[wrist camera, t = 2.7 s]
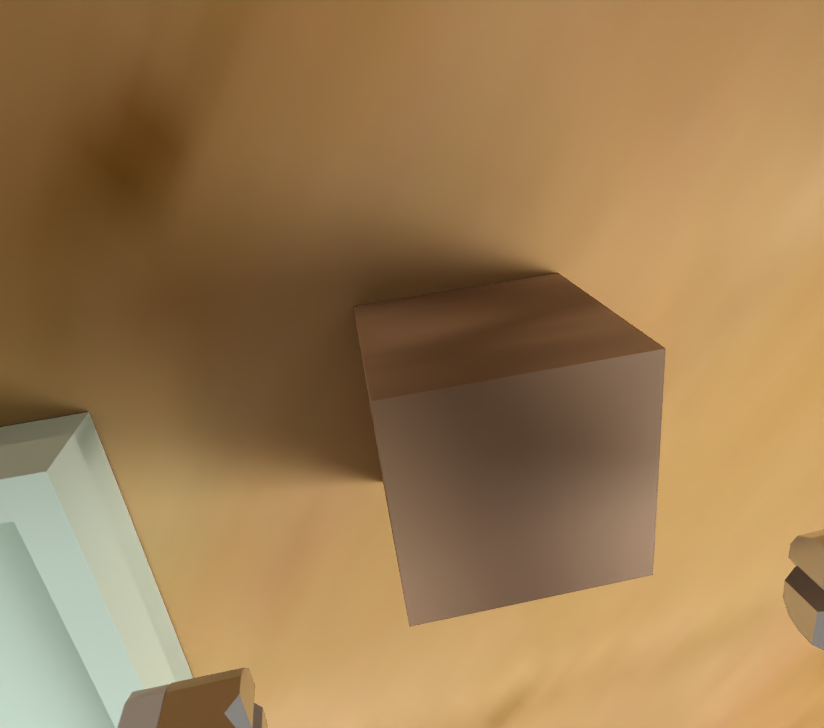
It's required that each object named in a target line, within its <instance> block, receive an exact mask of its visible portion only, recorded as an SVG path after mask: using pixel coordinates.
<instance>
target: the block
mask: <svg viewBox="0 0 824 728" xmlns="http://www.w3.org/2000/svg"><path fill="white" fill-rule="evenodd" d="M353 310H354V316H355V322H356V328H357V334H358V339H359V345H360V351H361V357H362V363H363V368H364V374H365V380H366V386H367V392H368V397H369V403H370V409H371V415H372V421H373V426H374V432H375V438H376V444H377V450H378V455H379V461H380V467H381V473H382V479H383V484H384V490H385V495H386V501H387V506H388V512H389V517H390V523H391V528H392V533H393V539H394V544H395V550H396V555H397V561H398V566H399V572H400V577H401V583H402V588H403V593H404V599H405V604H406V610H407V615H408V621H409V626H415V625H420V624H424V623H429V622H434V621H438V620H443V619H448V618H453V617H457V616H462V615H467V614H471V613H476V612H481V611H485V610H490V609H495V608H500V607H504V606H509V605H514V604H518V603H523V602H528V601H533V600H537V599H542V598H547V597H551V596H556V595H561V594H565V593H570V592H575V591H580V590H584V589H589V588H594V587H598V586H603V585H608V584H612V583H617V582H622V581H627V580H631V579H636V578H641V577H645V576H650V575H653V564H654V546H655V528H656V510H657V492H658V474H659V456H660V438H661V420H662V402H663V384H664V365H665V348H664V347H663V346H661V345H660V344H658V343H657V342H655V341H654V340H653V339H651V338H650V337H648V336H647V335H645V334H644V333H643V332H641V331H640V330H638V329H637V328H636V327H634V326H633V325H631V324H630V323H628V322H627V321H626V320H624V319H623V318H621V317H620V316H619V315H617V314H616V313H614V312H613V311H611V310H610V309H609V308H607V307H606V306H604V305H603V304H601V303H600V302H599V301H597V300H596V299H594V298H593V297H592V296H590V295H589V294H587V293H586V292H584V291H583V290H582V289H580V288H579V287H577V286H576V285H575V284H573V283H572V282H570V281H569V280H567V279H566V278H565V277H563V276H562V275H560V274H559V273H554V274H548V275H542V276H536V277H530V278H524V279H518V280H512V281H506V282H500V283H494V284H488V285H482V286H476V287H470V288H463V289H457V290H451V291H445V292H439V293H433V294H427V295H421V296H415V297H409V298H403V299H397V300H391V301H385V302H379V303H373V304H366V305H360V306H354V307H353Z"/></svg>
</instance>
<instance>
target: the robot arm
mask: <svg viewBox="0 0 824 728" xmlns="http://www.w3.org/2000/svg"><path fill="white" fill-rule="evenodd" d="M789 559H790V560H791V561H792V562H793V563H794V565H795V566H796V567H795V568H794V569H793V570H792V572H791V573H790V574H789V576H788V577H787V578H786V579H785V583H784V593H783V599H784V602H785V605H786V608H787V611H788V614H789V617H790V618H791V620H792V621H793V623H794V624H795V626H796V628H797V629H798V630H799V632H800V633H801V634H802V635H803V636H804V637H805V638H806V639H807V640H808V641H809V642H810V643H811V644H812V645H814V646H816V647H818V648H820V649H822V650H824V529H823V530H819V531H815V532H811V533H807V534H803V535H799V536H797V537H796V538H795V539H794V541H793V542H792V543H791V545H790V551H789ZM254 695H255V683H254V681H253V678H252V675H251V673H250V670H249V668H240V669H235V670H230V671H226V672H221V673H216V674H211V675H206V676H202V677H197V678H192V679H187V680H183V681H178V682H173V683H171V684H166V685H162V686H157V687H152V688H148V689H143V690H138V691H134V692H132V693H131V695H130V696H129V698H128V699H127V701H126V702H125V704H124V706H123V710H122V713H121V716H120V720H119V723H118V726H117V728H268V725H267V720H266V717H265V713H264V710H263V708H262V707H261V706H259V705H257V704H255V703H254Z"/></svg>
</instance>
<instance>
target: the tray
mask: <svg viewBox="0 0 824 728" xmlns="http://www.w3.org/2000/svg"><path fill="white" fill-rule="evenodd" d="M192 678H193V677H192V674H191V671H190V669H189V666H188V664H187V661H186V659H185V656H184V654H183V651H182V648H181V646H180V643H179V641H178V638H177V636H176V633H175V630H174V628H173V625H172V623H171V620H170V618H169V615H168V613H167V610H166V607H165V605H164V602H163V600H162V597H161V595H160V592H159V590H158V587H157V584H156V582H155V579H154V577H153V574H152V572H151V569H150V567H149V564H148V561H147V559H146V556H145V554H144V551H143V549H142V546H141V544H140V541H139V538H138V536H137V533H136V531H135V528H134V526H133V523H132V521H131V518H130V515H129V513H128V510H127V508H126V505H125V503H124V500H123V498H122V495H121V492H120V490H119V487H118V485H117V482H116V480H115V477H114V475H113V472H112V469H111V467H110V464H109V462H108V459H107V457H106V454H105V452H104V449H103V446H102V444H101V441H100V439H99V436H98V434H97V431H96V428H95V426H94V423H93V421H92V418H91V416H90V413H89V412H86V413H80V414H74V415H68V416H63V417H57V418H51V419H45V420H39V421H33V422H28V423H22V424H16V425H10V426H4V427H0V728H117V726H118V723H119V720H120V716H121V713H122V710H123V706H124V704H125V702H126V701H127V699H128V698H129V696H130V695H131V693H132V692H134V691H138V690H143V689H148V688H152V687H157V686H162V685H166V684H171V683H173V682H178V681H183V680H187V679H192Z"/></svg>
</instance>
